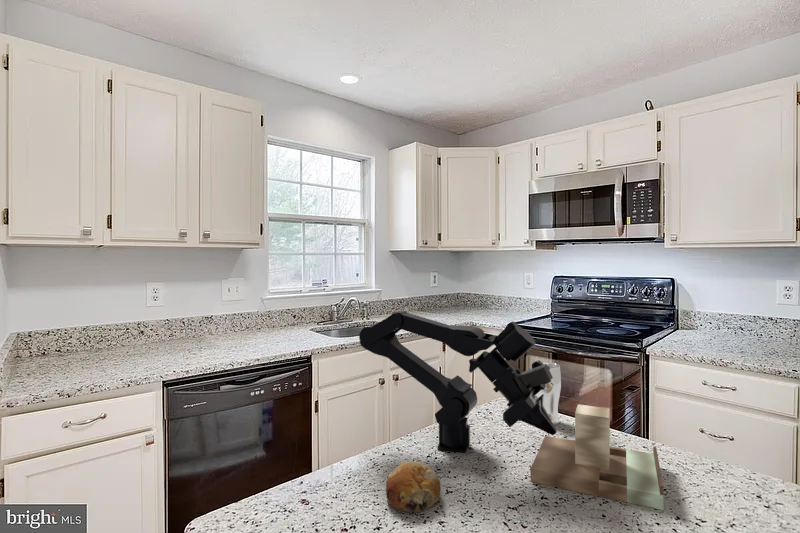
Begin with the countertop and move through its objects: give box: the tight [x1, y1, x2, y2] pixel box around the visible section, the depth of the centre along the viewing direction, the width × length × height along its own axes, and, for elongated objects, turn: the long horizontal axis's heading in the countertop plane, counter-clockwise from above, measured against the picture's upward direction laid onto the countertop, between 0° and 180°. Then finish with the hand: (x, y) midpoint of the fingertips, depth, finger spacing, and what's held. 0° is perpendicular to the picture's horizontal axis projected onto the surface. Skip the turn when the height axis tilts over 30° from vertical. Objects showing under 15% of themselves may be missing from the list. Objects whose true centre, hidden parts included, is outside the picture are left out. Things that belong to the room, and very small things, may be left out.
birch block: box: [574, 404, 611, 470], centre depth 87 cm, size 6×6×10 cm
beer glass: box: [535, 361, 562, 426], centre depth 116 cm, size 7×7×15 cm
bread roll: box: [385, 460, 441, 513], centre depth 79 cm, size 10×10×8 cm
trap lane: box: [530, 435, 665, 511], centre depth 87 cm, size 22×18×4 cm
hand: (555, 433), depth 91 cm, fingers closed
